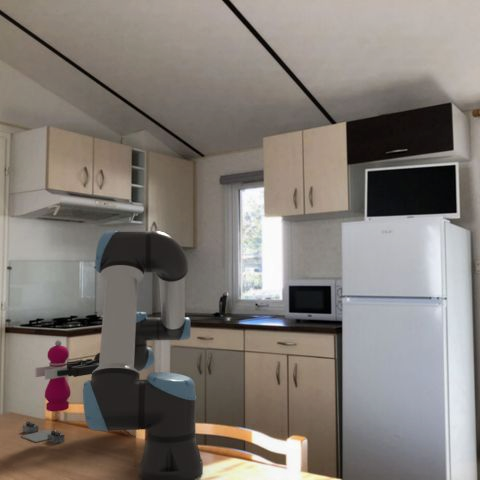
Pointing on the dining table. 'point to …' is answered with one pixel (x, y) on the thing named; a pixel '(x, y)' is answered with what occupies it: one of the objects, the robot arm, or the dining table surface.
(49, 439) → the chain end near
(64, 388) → the pepper mill
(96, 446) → the dining table surface
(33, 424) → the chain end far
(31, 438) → the plate
